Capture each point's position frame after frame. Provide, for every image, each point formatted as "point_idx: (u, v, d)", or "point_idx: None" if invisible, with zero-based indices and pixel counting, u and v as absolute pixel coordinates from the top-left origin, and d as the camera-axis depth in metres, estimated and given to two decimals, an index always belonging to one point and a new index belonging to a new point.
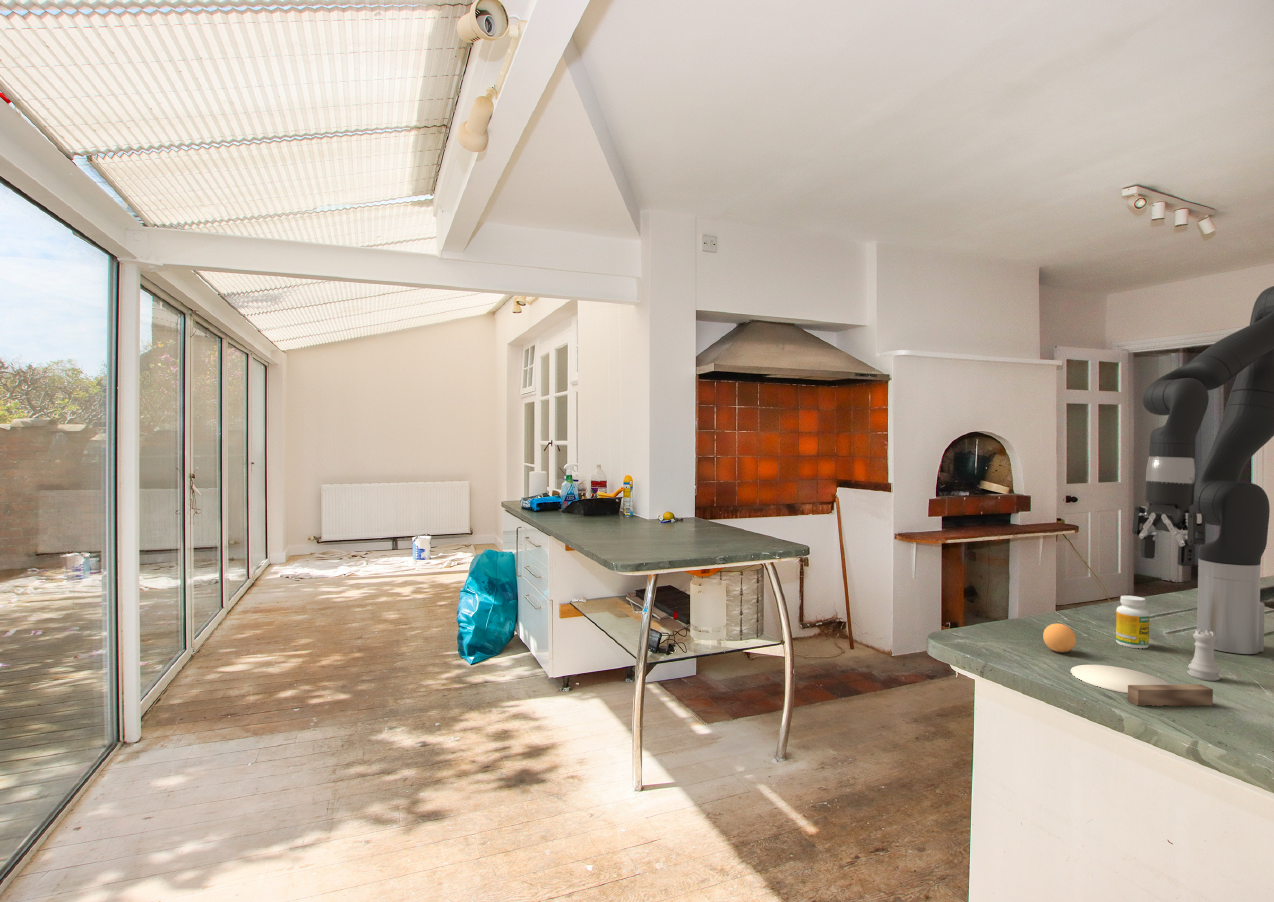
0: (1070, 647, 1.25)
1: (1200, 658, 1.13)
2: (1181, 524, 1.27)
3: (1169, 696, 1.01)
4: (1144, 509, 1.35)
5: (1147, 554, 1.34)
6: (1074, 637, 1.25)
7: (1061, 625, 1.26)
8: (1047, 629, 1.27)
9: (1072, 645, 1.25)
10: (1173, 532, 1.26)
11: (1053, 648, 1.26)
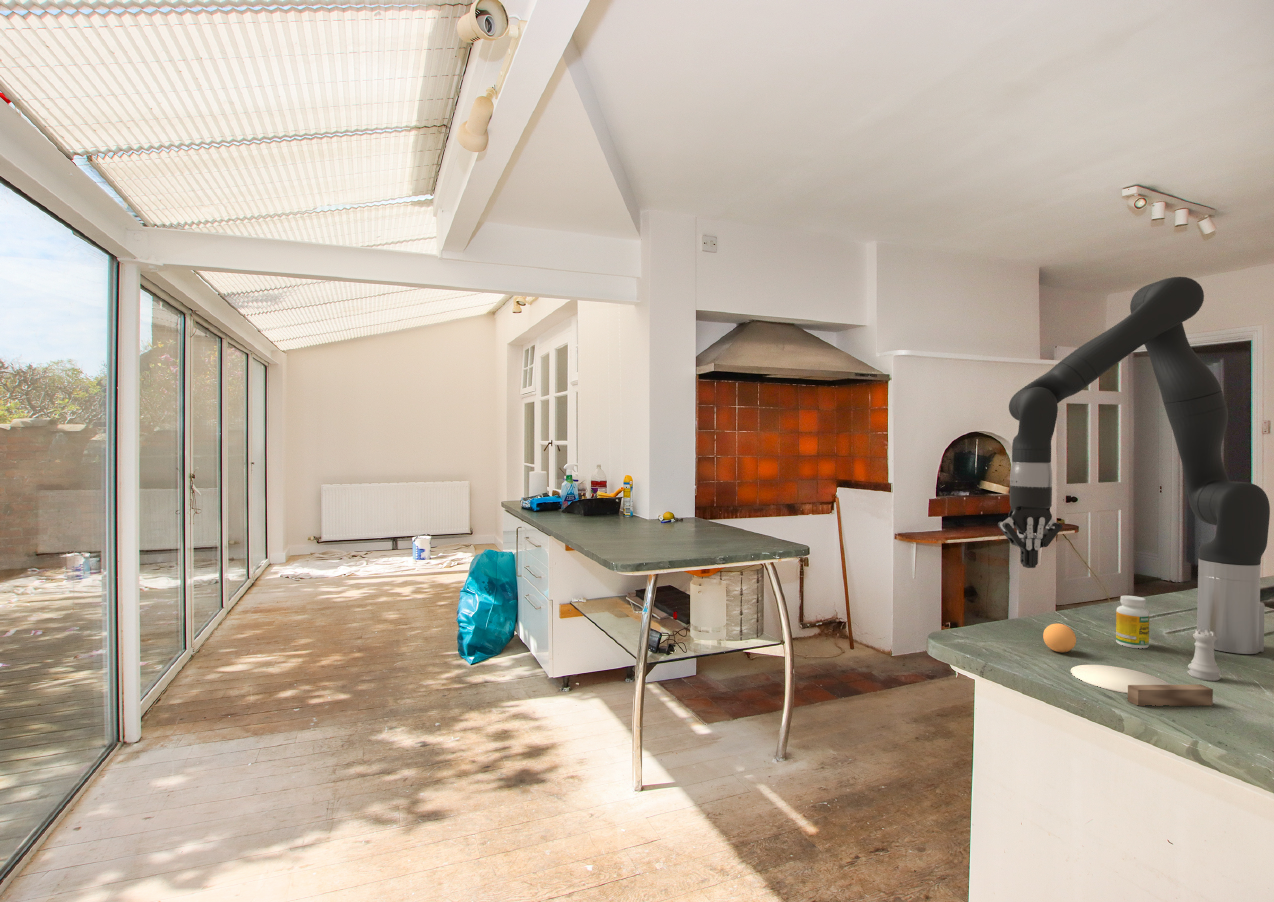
0: (1070, 647, 1.25)
1: (1200, 658, 1.13)
2: None
3: (1169, 696, 1.01)
4: None
5: None
6: (1074, 637, 1.25)
7: (1061, 625, 1.26)
8: (1047, 629, 1.27)
9: (1072, 645, 1.25)
10: None
11: (1053, 648, 1.26)
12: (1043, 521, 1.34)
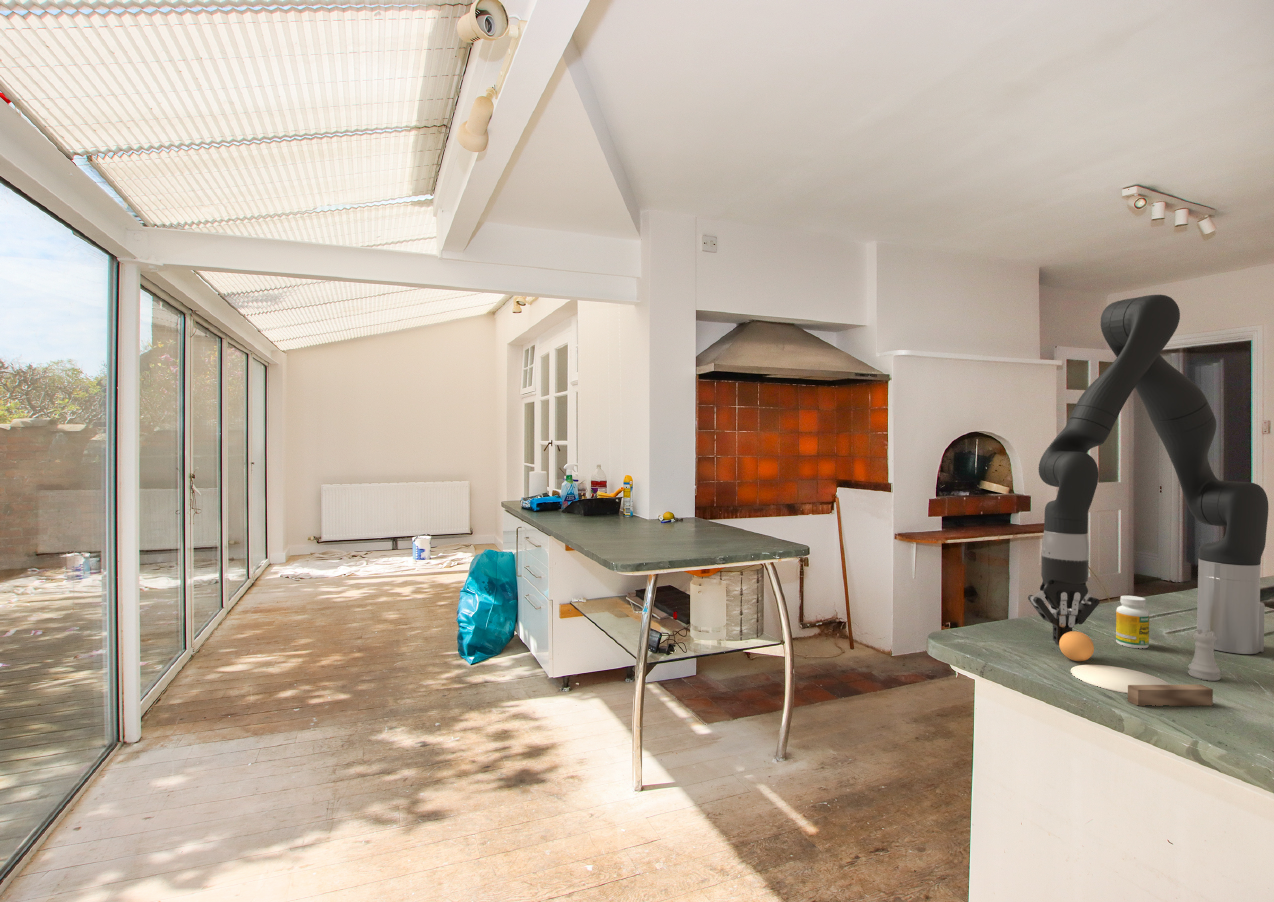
0: None
1: (1200, 658, 1.13)
2: None
3: (1169, 696, 1.01)
4: None
5: None
6: (1089, 657, 1.21)
7: (1086, 650, 1.19)
8: (1069, 644, 1.21)
9: None
10: None
11: None
12: (1078, 596, 1.24)
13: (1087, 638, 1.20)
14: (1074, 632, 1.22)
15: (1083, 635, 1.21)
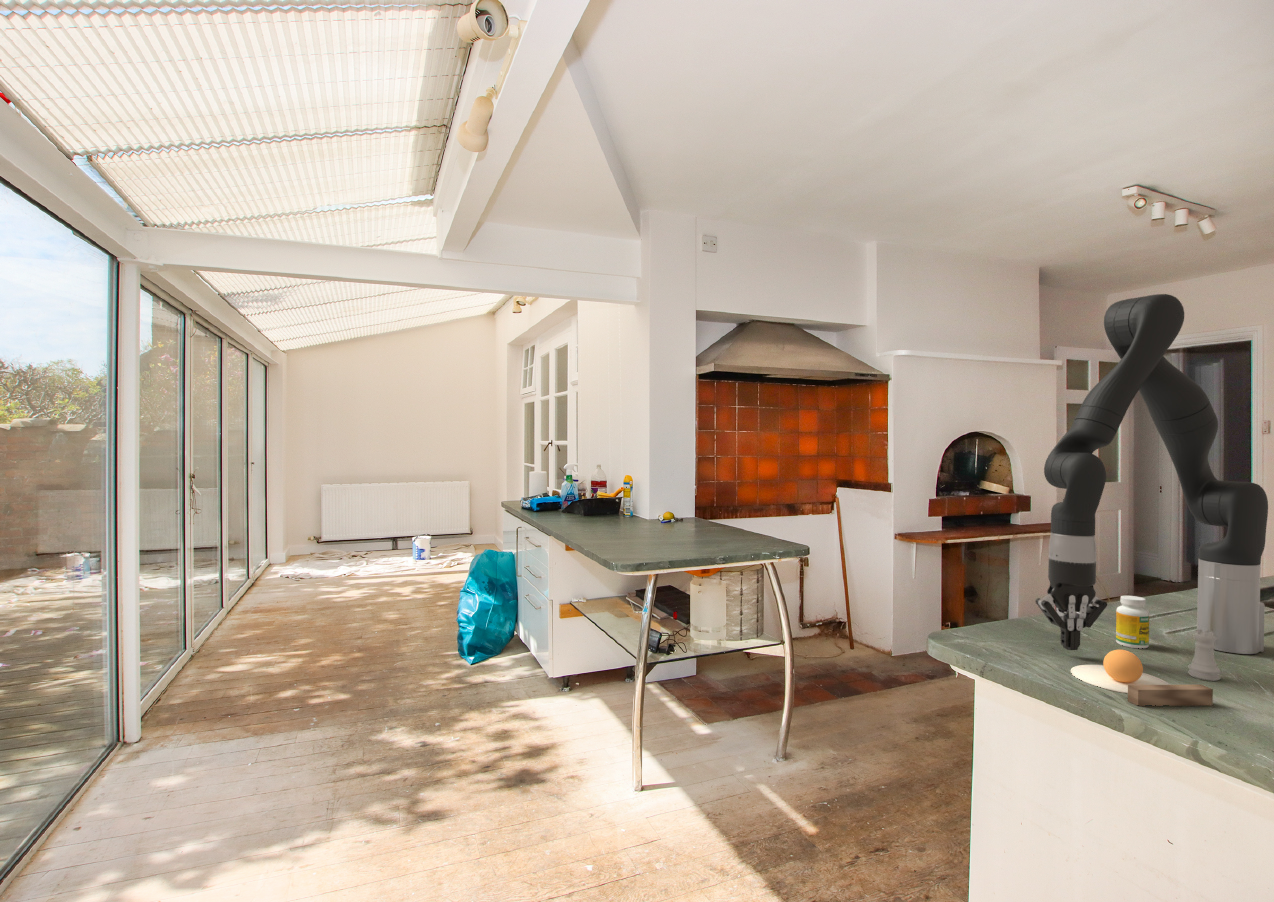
0: (1138, 663, 1.09)
1: (1200, 658, 1.13)
2: None
3: (1169, 696, 1.01)
4: None
5: None
6: None
7: None
8: (1104, 660, 1.12)
9: (1138, 660, 1.09)
10: None
11: (1124, 672, 1.09)
12: (1086, 599, 1.22)
13: None
14: None
15: None
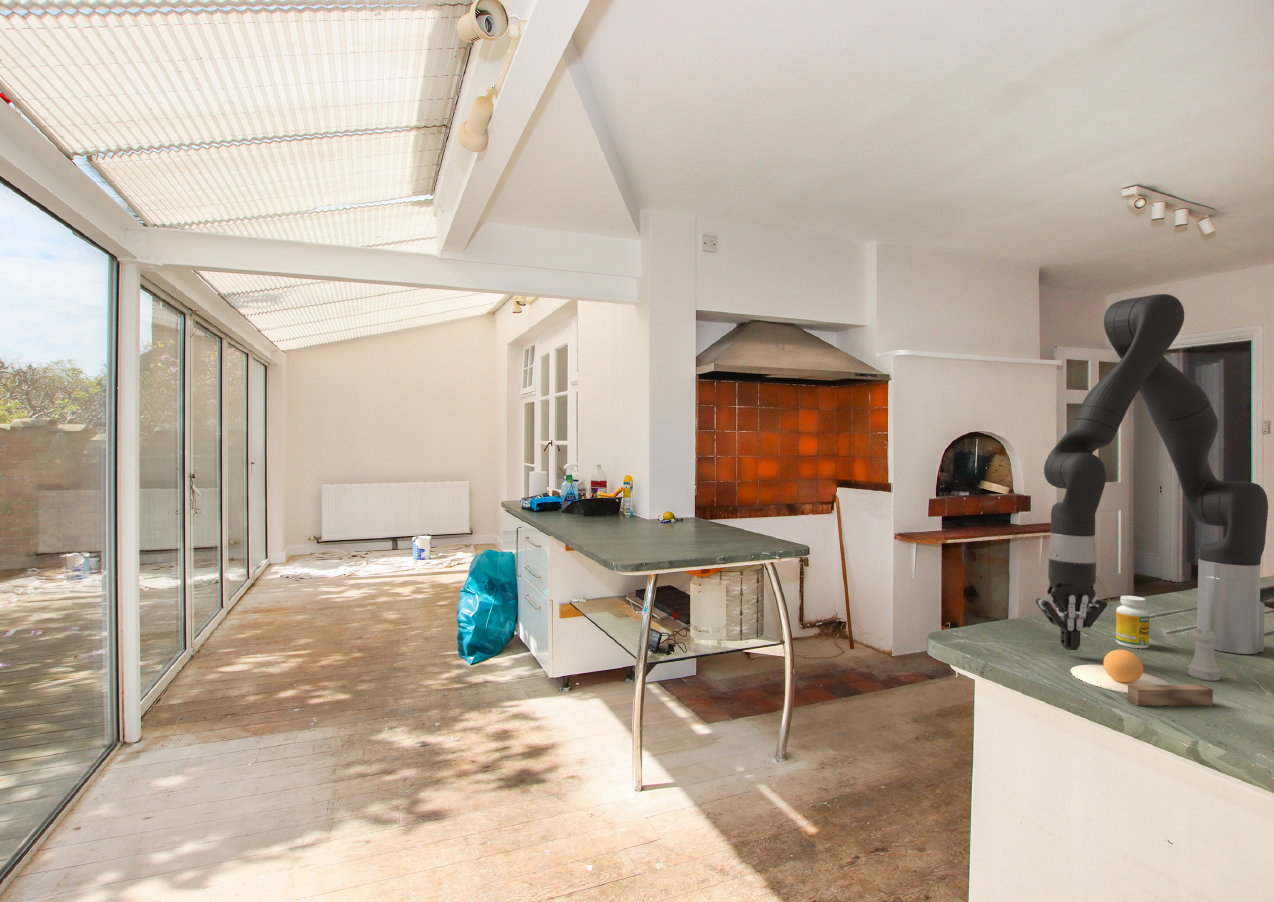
0: (1138, 663, 1.09)
1: (1200, 658, 1.13)
2: None
3: (1169, 696, 1.01)
4: None
5: None
6: None
7: None
8: (1104, 660, 1.12)
9: (1138, 660, 1.09)
10: None
11: (1124, 672, 1.09)
12: (1086, 599, 1.22)
13: None
14: None
15: None
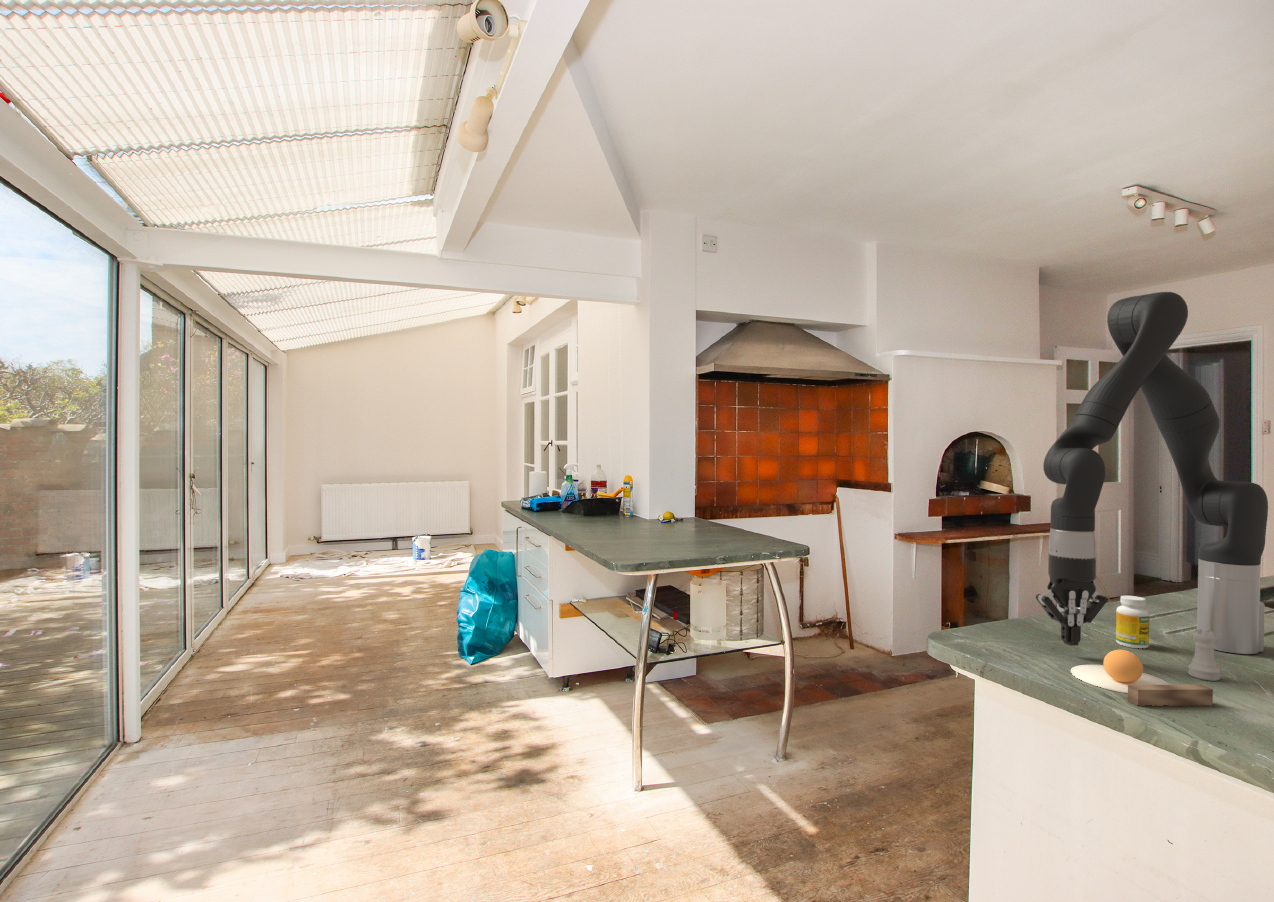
0: (1138, 663, 1.09)
1: (1200, 658, 1.13)
2: None
3: (1169, 696, 1.01)
4: None
5: None
6: None
7: None
8: (1104, 660, 1.12)
9: (1138, 660, 1.09)
10: None
11: (1124, 672, 1.09)
12: (1086, 595, 1.22)
13: None
14: None
15: None
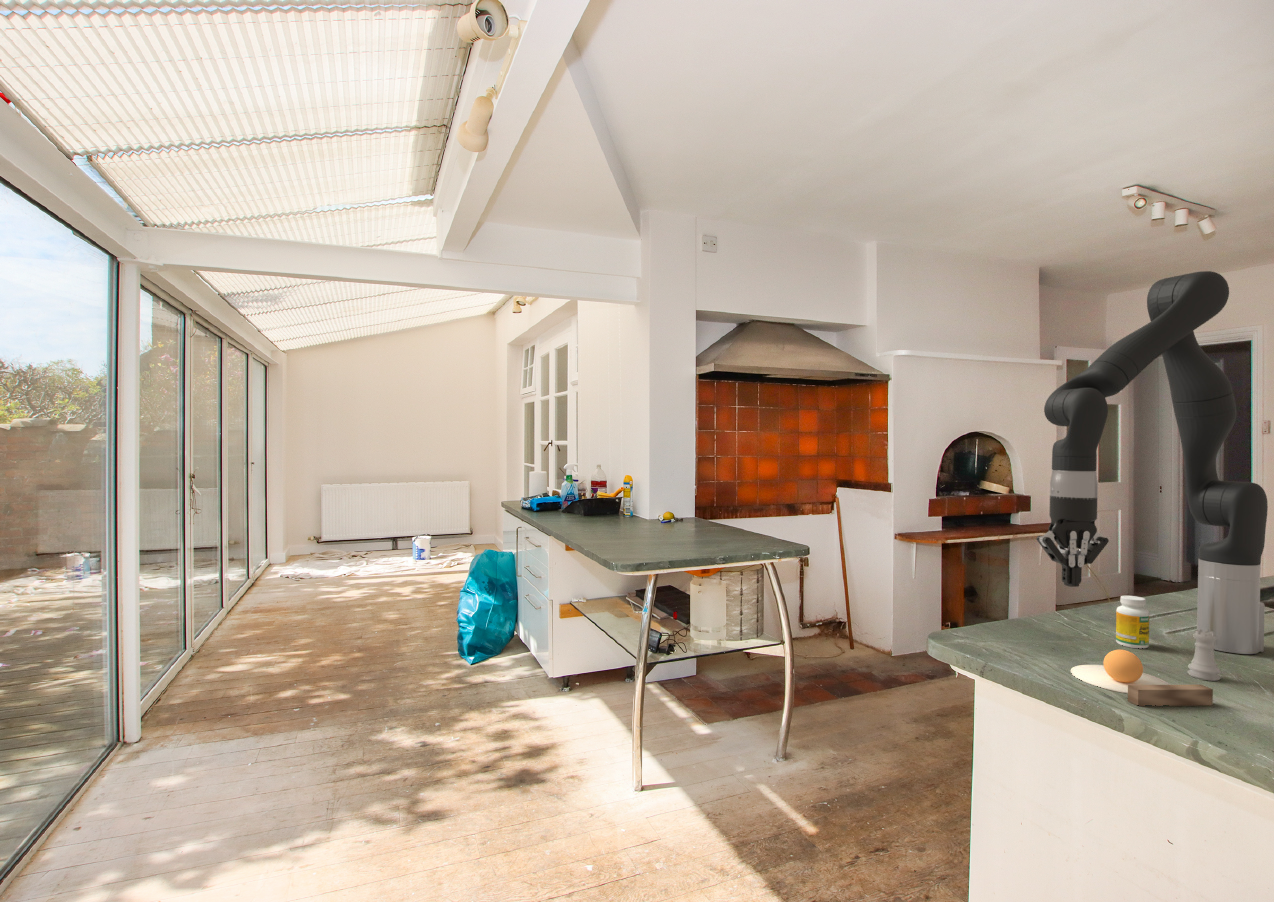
0: (1138, 663, 1.09)
1: (1200, 658, 1.13)
2: None
3: (1169, 696, 1.01)
4: None
5: None
6: None
7: None
8: (1104, 660, 1.12)
9: (1138, 660, 1.09)
10: None
11: (1124, 672, 1.09)
12: (1088, 535, 1.22)
13: None
14: None
15: None
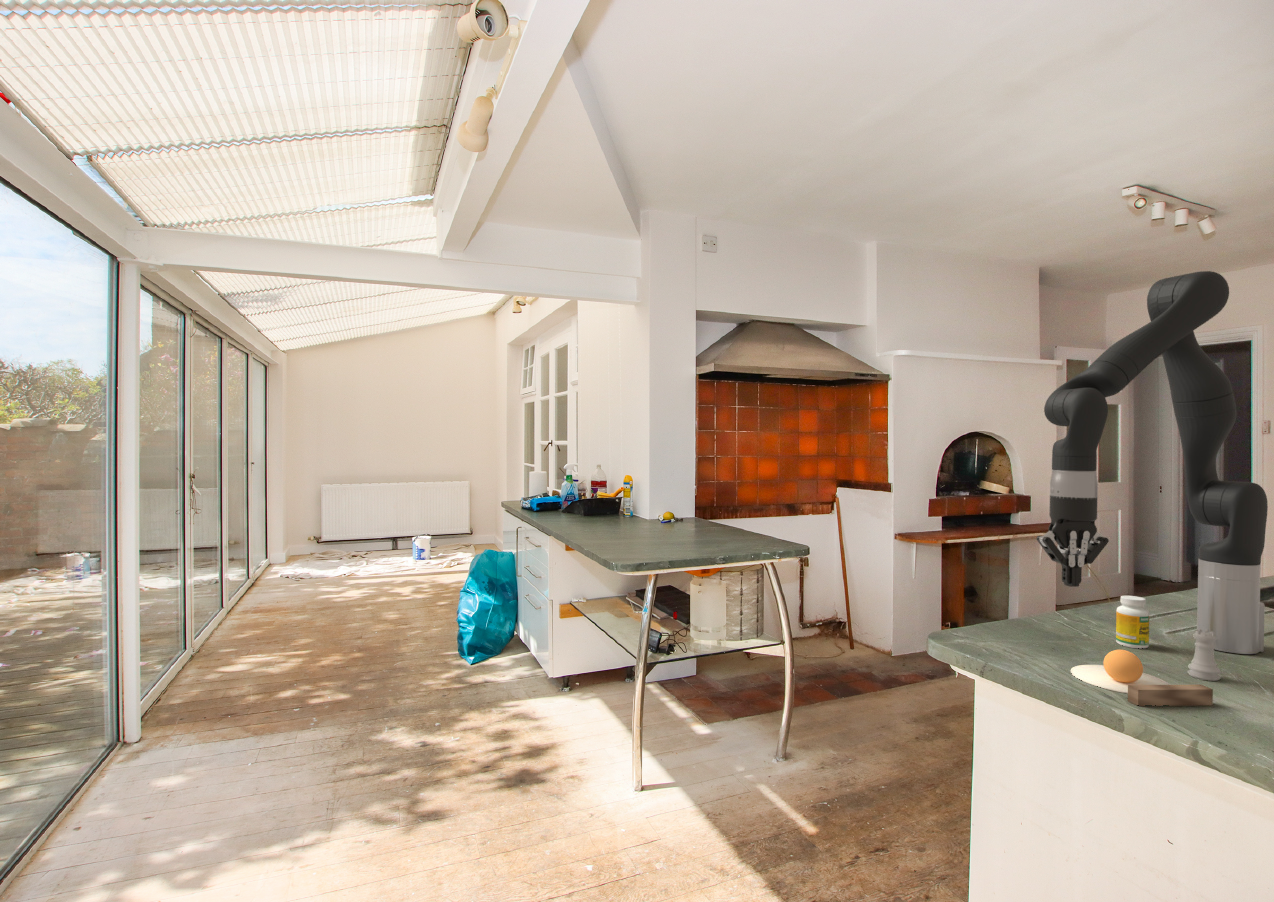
0: (1138, 663, 1.09)
1: (1200, 658, 1.13)
2: None
3: (1169, 696, 1.01)
4: None
5: None
6: None
7: None
8: (1104, 660, 1.12)
9: (1138, 660, 1.09)
10: None
11: (1124, 672, 1.09)
12: (1088, 535, 1.22)
13: None
14: None
15: None
